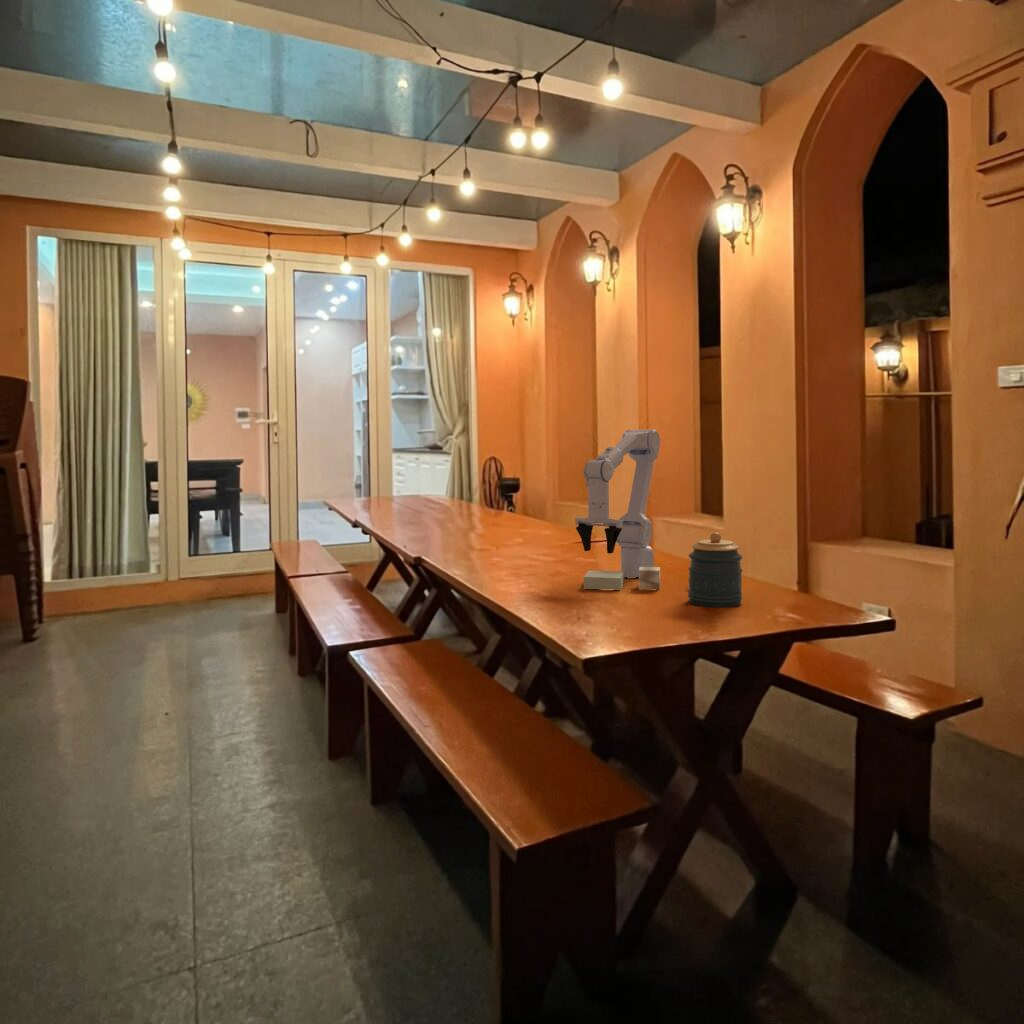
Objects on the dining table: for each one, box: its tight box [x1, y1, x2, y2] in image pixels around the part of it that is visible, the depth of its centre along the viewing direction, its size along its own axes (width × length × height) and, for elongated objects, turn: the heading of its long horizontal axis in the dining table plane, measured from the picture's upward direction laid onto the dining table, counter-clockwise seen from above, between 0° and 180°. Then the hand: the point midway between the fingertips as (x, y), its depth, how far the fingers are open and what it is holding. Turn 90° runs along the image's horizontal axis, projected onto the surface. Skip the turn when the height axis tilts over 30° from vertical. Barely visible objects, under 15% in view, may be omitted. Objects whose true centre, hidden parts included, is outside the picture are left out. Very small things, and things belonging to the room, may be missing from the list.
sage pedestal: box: [583, 570, 625, 591], centre depth 203 cm, size 10×10×4 cm
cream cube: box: [638, 566, 661, 591], centre depth 200 cm, size 6×6×6 cm
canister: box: [687, 532, 743, 609], centre depth 181 cm, size 13×13×18 cm
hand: (598, 551), depth 203 cm, fingers open, 7 cm apart
